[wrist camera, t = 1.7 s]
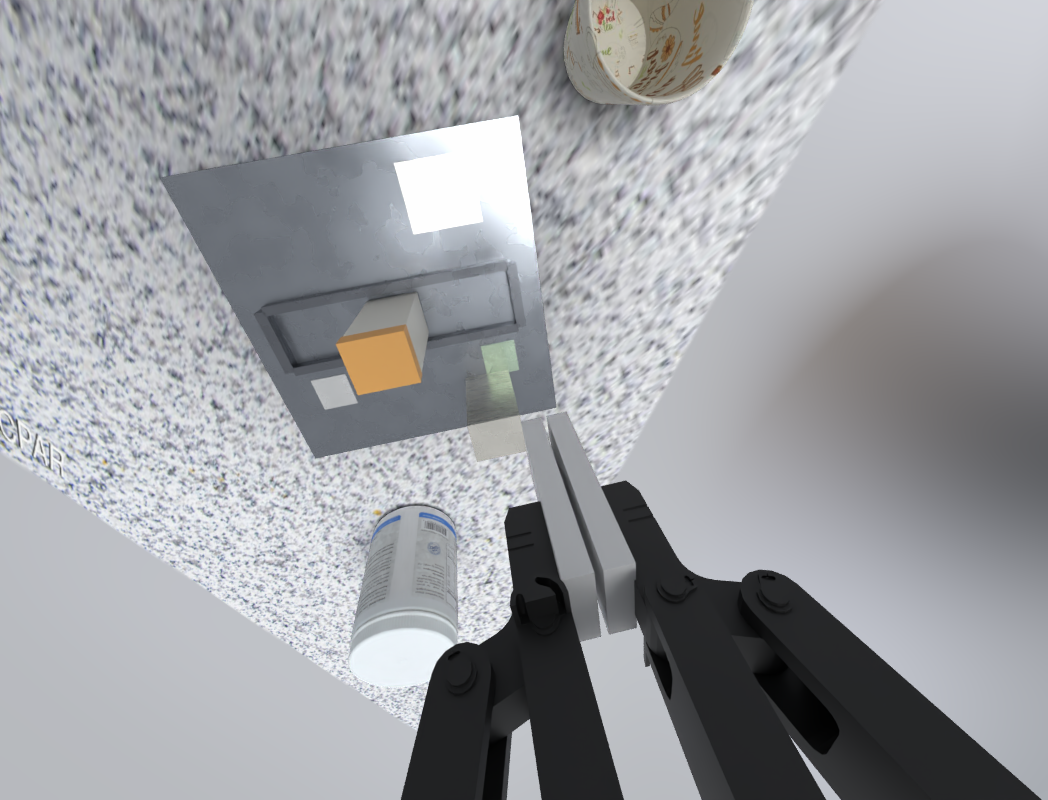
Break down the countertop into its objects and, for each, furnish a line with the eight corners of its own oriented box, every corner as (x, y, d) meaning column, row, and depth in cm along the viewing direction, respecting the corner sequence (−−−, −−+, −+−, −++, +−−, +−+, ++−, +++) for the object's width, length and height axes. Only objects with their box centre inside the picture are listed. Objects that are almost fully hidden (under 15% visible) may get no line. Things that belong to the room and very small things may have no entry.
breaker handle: (381, 342, 33) (357, 395, 25) (366, 300, 31) (335, 344, 23) (429, 332, 33) (421, 382, 26) (417, 290, 32) (403, 330, 24)
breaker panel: (320, 448, 39) (284, 521, 31) (174, 177, 27) (52, 180, 19) (553, 400, 41) (577, 457, 32) (515, 117, 28) (538, 96, 20)
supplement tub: (386, 563, 49) (361, 698, 36) (364, 509, 44) (327, 643, 32) (463, 550, 50) (465, 677, 37) (450, 495, 45) (447, 621, 32)
